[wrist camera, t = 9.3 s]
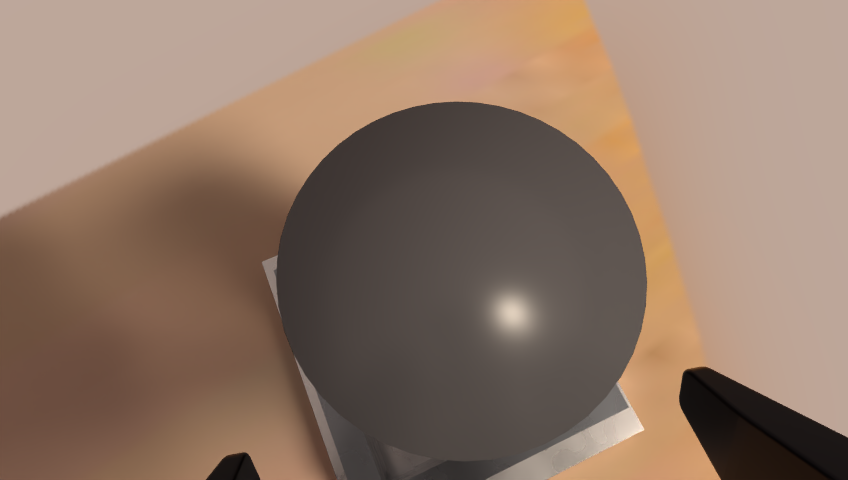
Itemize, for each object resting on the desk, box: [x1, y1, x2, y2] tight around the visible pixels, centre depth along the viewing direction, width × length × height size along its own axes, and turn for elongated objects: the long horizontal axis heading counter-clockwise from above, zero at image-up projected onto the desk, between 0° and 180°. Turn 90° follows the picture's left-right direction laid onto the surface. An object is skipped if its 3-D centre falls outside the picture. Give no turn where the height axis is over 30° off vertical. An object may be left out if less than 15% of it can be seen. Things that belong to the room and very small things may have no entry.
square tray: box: [262, 255, 644, 480], centre depth 17 cm, size 12×11×3 cm
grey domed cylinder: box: [276, 102, 647, 462], centre depth 12 cm, size 5×5×12 cm
